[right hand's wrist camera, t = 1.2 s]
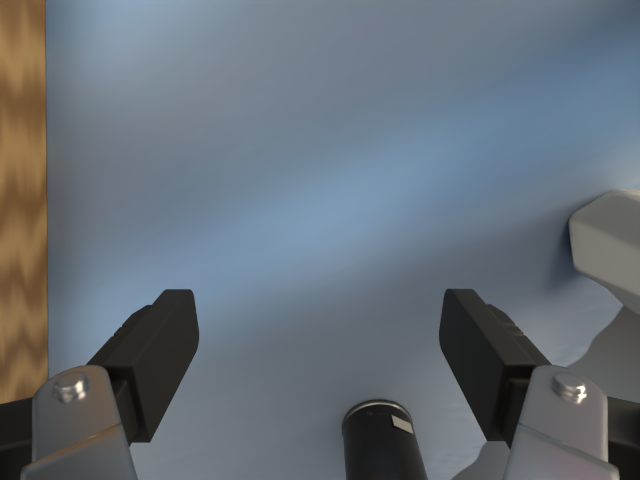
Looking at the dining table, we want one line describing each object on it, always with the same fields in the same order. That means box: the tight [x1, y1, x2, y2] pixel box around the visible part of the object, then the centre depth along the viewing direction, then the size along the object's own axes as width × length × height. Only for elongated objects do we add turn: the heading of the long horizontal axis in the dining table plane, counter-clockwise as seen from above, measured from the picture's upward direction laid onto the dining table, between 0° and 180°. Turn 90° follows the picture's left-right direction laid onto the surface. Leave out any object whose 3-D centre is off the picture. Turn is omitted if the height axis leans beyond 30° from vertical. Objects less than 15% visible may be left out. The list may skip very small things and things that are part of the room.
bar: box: [0, 0, 48, 404], centre depth 36 cm, size 78×5×6 cm, turn 165°
